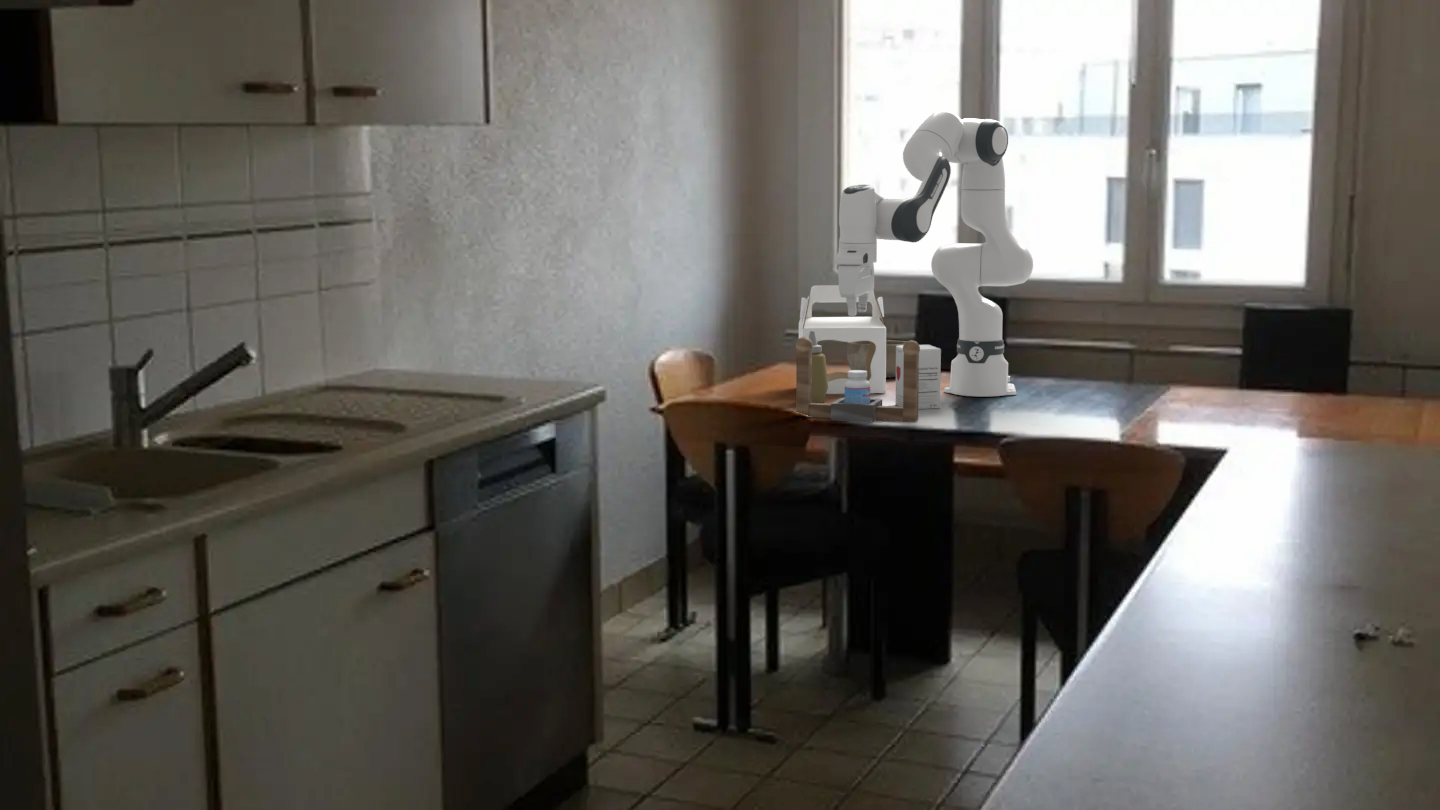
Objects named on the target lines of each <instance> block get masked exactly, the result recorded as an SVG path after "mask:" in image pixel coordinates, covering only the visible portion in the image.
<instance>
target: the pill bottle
mask: <svg viewBox="0 0 1440 810" xmlns="http://www.w3.org/2000/svg"><path fill="white" fill-rule="evenodd" d="M847 373H848V378H849V380H848V381H846V383H845V394H844V398H845V403H847V404H870V399H871V394H870V383H869V382H868V381H867V380H866V378H867V371H864V370H851V369H850V370H848V371H847Z"/></svg>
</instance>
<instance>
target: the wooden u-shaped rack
mask: <svg viewBox="0 0 1440 810" xmlns="http://www.w3.org/2000/svg"><path fill="white" fill-rule="evenodd" d="M905 342H906V343H905V344H904V346H903V352H904V372H903V407H900V406H890V405H889V406H888V405H883V399H882V398H881V399H879V398H870V404H847V403H845V397H840V398H838V399H837V400H835V401H834V402H831V403H823V402H820V403H812V347H813V344H812V341H811V340H810V339H809V338H807V337H801V338H799V337H798V339H797V340H796V342H795V349H796V351H795V353H796V361H795V362H796V367H795V368H796V370H795V371H796V373H795V374H796V377H795V378H796V394H795V395H796V397H795V398H796V399H795V400H796V401H795V402H796V403H795V405H796V412H799V413H802V414H805V415H808V416H812V417H811V418H828V419H829V418H830V421H835V422H836V421H837V422H839V421H840V422H858V423H859V422H861V423H874V422H875V421H891V420H895V422H908V421H916V422H917V421H919V409H918V395H919V352H920V346H919V345H920V344H919V343H918V342H917V341H916V340H912V339H911V340H907V341H905ZM796 412H795V413H796Z"/></svg>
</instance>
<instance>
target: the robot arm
mask: <svg viewBox="0 0 1440 810" xmlns="http://www.w3.org/2000/svg"><path fill="white" fill-rule="evenodd" d="M1008 146H1009V135H1008V131H1007V129H1006V127H1005V126H1004V124H1003V123H1001V121H998V120H995V119H991V118H985V119H981V118H973V117H972V118H971V117H970V118H969V117H968V118H967V117H966V118H965V117H964V118H963V119H961V117H960V116H958V115H957V114H956V113H954V112H952V111H951V110H947V109H946V110H945V109H943V110H942V109H941V110H937V111H935V112H934V113H932V114H931V115H930V116H928V117H927V118H926V119H925V120H924V121H923V122H922V123H921V124H920V125H919V127H917V128H916V130H915V132H914V133H913V134H912V135H911V137H910V138H909V139H908V141H907V143H906V144H905V146H904V148H903V151H902V159H903V160H902V161H903V163H904V166H905V168H906V170H907V171H908V172H909V174H910V175H912V176H911V177H914V178H915V179H916V180H919V181H920V182H921V184H920V185H919V188H918V190H917V191H916V194H915V195H914V196H911V197H909V198H902V199H901V198H884V197H882V196H880V195H879V194H878V193H877V192H876V190H875V188H874V186H873V185H870V184H858V185H849V186H848V187H846V188H844V189H843V190H842V192H841V196H840V199H839V210H838V211H839V212H838V215H839V216H838V225H839V228H840V236H839V239H838V252H837V254H836V256H835V265H838V268H837V276H838V277H837V278H838V285H839V292H840V295H841V297H846V302H845V303H846V306H847V315H848V317H856V315H857V314H858V312H859V313H865V312H867V310H868V309H867V308H868V307H867V304H868V303H867V300H868V292H871V291H873V290H874V289H875V265H874V263H877V259H878V258H877V251H878V250H877V248H878V247H877V244H878V243H877V241H878V240H886V241H901V242H907V243H918V242H919V241H921V240H922V239H923V238H924V237H926V235H927V234H928V233H929V231H930V228H931V225H932V221H933V217H934V213H935V211H936V209H937V207H938V205H939V203H940V201H941V198H942V196H944V192H945V191H946V188H947V185H948V184H949V181H950V177H951V172H952V169H951V168H952V167H951V165H950V163H954V164H962V165H963V168H962V175H961V191H960V193H961V194H960V195H961V199H960V200H961V202H960V207H961V208H960V216H961V219H962V221H963V223H964V224H965V225H966V226H968V227H970V228H971V229H973V230H976V231H977V232H979V233H981V234H982V235H983V236H984V239H985V241H984V242H981V243H976V242H975V243H969V242H967V243H960V242H957V243H952V244H947V245H943V246H942V245H941V246H939V247H938V248H937V249H936V250H935V252H934V254H933V256H932V258H931V264H930V265H931V267H930V268H931V272H932V275H933V276H934V279H936V281H937V282H939V284H941V285H942V286H943V287H945V289H947V291H948V292H949V293H950V295H951V296H952V297H953V299H954V302H955V305H956V307H957V313H958V328H959V329H958V333H959V334H958V339H957V344H956V353H957V355H956V357H955V358H953V359H952V360H951V363H950V377H949V378H950V379H949V386H946V387H944V388H943V393H948V394H954V395H959V396H965V397H1000V396H1002V397H1003V396H1015V395H1017V390H1016V386H1015V384H1014V383H1010V382H1011V380H1012V379H1011V378H1012V377H1011V376H1010V375H1009V362H1008V360H1006V359H1005V356H1004V353H1005V343H1004V342H1005V341H1004V339H1003V318H1004V317H1003V316H1004V315H1003V311H1002V308H1001V307H1000V305H998V304H997V303H996V302H994V301H993V300H990V299H989V298H986V297H984V296H983V295H982V294H981V293H980V291H979V288H980V287H1011V286H1017V285H1020V284H1025V282H1027V281H1028V280H1029V278H1030V277H1031V275H1032V273H1033V269H1034V260H1033V257H1032V254H1031V252H1030V251H1029V249H1027V247H1025V246H1024V245H1023V244H1022V243H1020V242H1019V240H1018V239H1016V237H1015V235H1014V234H1013V233H1012V231H1011V230H1010V227H1009V225H1008V221H1007V214H1006V179H1005V178H1006V176H1005V174H1006V173H1005V165H1004V161H1003V157H1004V155H1005V154H1006V152H1007V149H1008ZM857 296H858V297H859V302H858V304H857V302H856V301H857Z"/></svg>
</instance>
